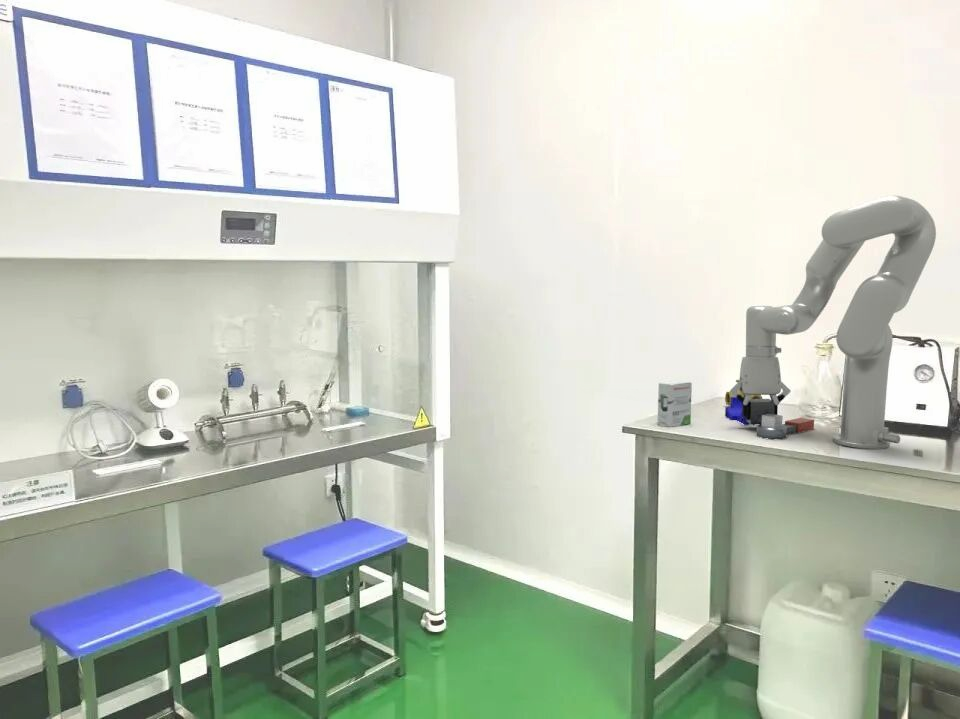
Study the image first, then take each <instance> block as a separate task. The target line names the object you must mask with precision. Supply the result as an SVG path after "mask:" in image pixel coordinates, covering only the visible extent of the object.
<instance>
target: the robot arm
mask: <svg viewBox="0 0 960 719" xmlns="http://www.w3.org/2000/svg"><path fill="white" fill-rule="evenodd" d="M891 234H892V235H894V240H893V243H892V244H891V247H890V248H889V250H888V251H887V253H886V255H885V257H884V260H883V262H882V264H881V266H880V267H879V270H878V272H877V273H876V274H875V275H871V276H870V277H868V278H866V279H865V280H864V281H863V282H861V283H860V285H858V287H857V289H856V290H855V293H854V295H853V296H852V299H851V301H850V303H849V305H848V307H847V309H846V311H845V313H844V315H843V317H842V319H841V321H840V324H839V326H838V328H837V331H836V335H835V336H836V337H835V340H836V344H837V347H838V349H839V350H840V351H841V352H842V353H843V354H844V355H846V358H845V364H844V375H843V377H844V378H843V386H842V387H843V388H842V402H841V403H842V404H841V418H840V419H841V420H840V421H841V422H840V434H836V435H834V436H833V437H832V438H833V439H832V441H833V442H834V443H836V444H837V445H842V446H845V447H850V448H857V449H863V450H864V449H866V450H881V449H887V448H890V446H891V443H893V444H900V441H901V436H900V434H896V433H890V432H889V427H887V426H885V419H886V418H885V417H886V405H887V402H886V401H887V390H888V389H887V388H888V377H889V367H890V360H891V353H892V348H893V341H894V340H893V339H894V336H893V330H892V328H891V327H890V322H891V321H892V319H893V316H894V315H895V314H896V313H899V312H901V311H902V310H903V309H904V308H905V307H906V306H907V304H908V303H909V302H910V299H911V296H912V294H913V292H914V289H915V287H916V286H917V283H918V282H919V279H920V277H921V275H922V273H923V271H924V268H926V264H927V263H928V260H929V258H930V256H931V253H932V252H933V248H934V246H935V243H936V238H937V228H936V225H935V220H934V218H933V217H932V215H931V214H930V213H929V211H928V210H927V209H926V208H925V207H924V206H923V205H922V204H921V203H919V202H918V201H916V200H914V199H912V198H910V197H909V198H908V197H905V196H902V195H887V196H883V197H880V198H877V199H873V200H871V201H868V202H865V203H861V204H859V205H855V206H852V207H850V208H847V209H844V210H841V211H837V212H835V213H833V214H831V215H830V216H828V217H827V218H826V219H825V221H824V222H823V224H822V226H821V237H822V240H821V242H820V243H819V245H818V247H817V248H816V250H815V251H814V253H813V254H812V255H811V256H810V259H809V260H808V262H807V263H806V265H805V276H806V278H805V281H804V284H803V286H802V288H801V290H800V293H799V294H798V295H797V297H796V298H795V300H794V301H793V302H792V304H789V305H788V304H787V305H781V306H771V305H753V306H752V305H751V306H749V307H748V308H747V310H746V312H745V313H746V314H745V318H746V320H745V356H742V358H741V364H740V367H739V368H740V369H739V370H740V371H739V379H738V380H739V382H738V383H737V382H736V383H735V385H734V386H733V387H732V388H731V389H730V390H729V392H731V393H732V394H733V395H734V396H735V397H736V398H737V399H738V400H739V401H740V402H741V403H742V404H743V409H742V414H743V416H744V417H745V419H746V420H749V415H750V406H749V405H748V402H749V399H750V397H751V395H761V396H766V395H767V396H769V399H770V400H772V401H774V414H775V415H778V410H779V409H778V406H779V405H780V403H781V402H782V401H784V399H785V398H786V397H787V396H789V394H790V393H791V389H790V388H789V387H788V386H786V384H785V383H784V382H782V377H781V366H780V365H781V364H780V361H779V357H778V356H777V354H779V353H782V347H778V346H777V335H778V334H779V335H784V336H786V335H787V336H788V335H795V334H799V333H804V332H806V331H807V330H809V329H810V328H811V327H812V326H813V325H814V323H815V322H816V321H817V320H818V317H819V316H820V315H821V314H822V312H823V311H824V310H825V308H826V307H827V305H828V303H829V301H830V299H831V297H832V295H833V293H834V291H835V289H836V286H837V284H838V281H839V280H840V279H841V277H842V275H843V274H844V273H845V271H846V270H847V268H848V267H849V265H850V264H851V262H852V261H853V259H854V258H855V257H856V255H857V254H858V252H859V251H860V249H862V246H863V245H864V244H865V243H866V241H871V240H874V239H876V238H880V237H884V236H886V235H891ZM738 390H740V391H741V392H743V393H744V395H743V397H742V396H741V395H740V394H739V393H738V392H737V391H738ZM781 391H782V392H781Z"/></svg>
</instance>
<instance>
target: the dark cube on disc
mask: <svg viewBox="0 0 960 719" xmlns="http://www.w3.org/2000/svg"><path fill="white" fill-rule="evenodd" d="M748 405H749V406H750V415H749V420H746V421H747V422H748V423H749V424H755V425H760V424H762V415H766V414H774V401H772V400H771V398H762V399H749V402H748Z"/></svg>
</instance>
